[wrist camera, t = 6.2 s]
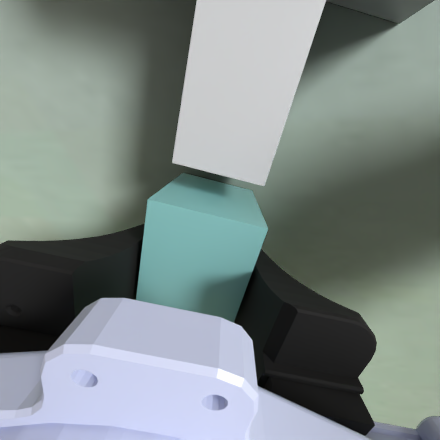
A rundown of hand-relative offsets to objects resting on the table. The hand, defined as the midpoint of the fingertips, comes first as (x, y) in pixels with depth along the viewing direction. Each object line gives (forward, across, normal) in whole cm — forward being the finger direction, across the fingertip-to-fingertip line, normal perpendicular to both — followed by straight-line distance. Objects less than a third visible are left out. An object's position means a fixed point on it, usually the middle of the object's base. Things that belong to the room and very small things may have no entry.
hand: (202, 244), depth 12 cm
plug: (+1, 0, -5) cm, 5 cm away
